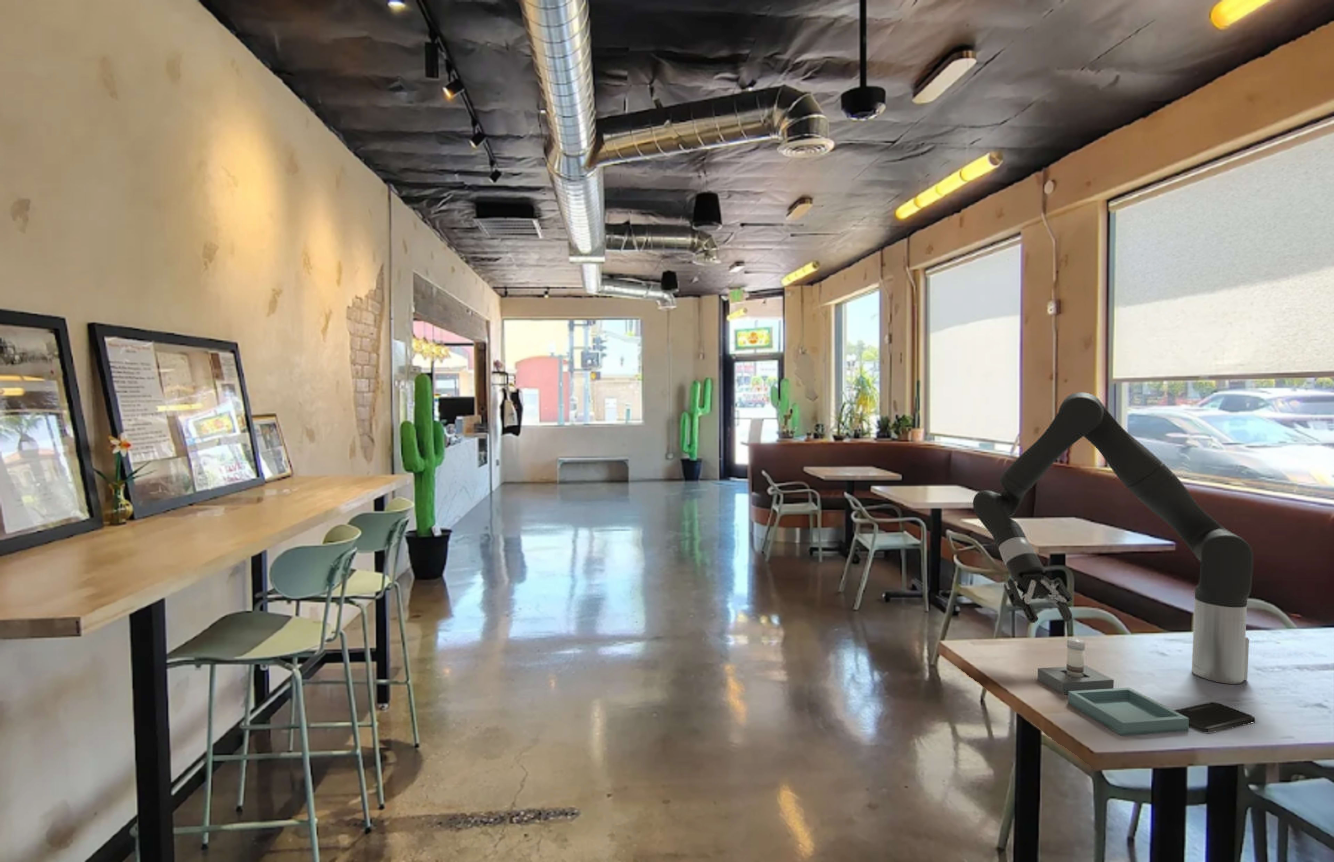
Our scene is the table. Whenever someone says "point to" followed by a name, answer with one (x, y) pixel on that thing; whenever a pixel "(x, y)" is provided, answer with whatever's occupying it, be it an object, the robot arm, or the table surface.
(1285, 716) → the table surface
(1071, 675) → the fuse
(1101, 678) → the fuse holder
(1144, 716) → the parts tray
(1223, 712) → the phone
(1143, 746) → the table surface
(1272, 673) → the table surface
